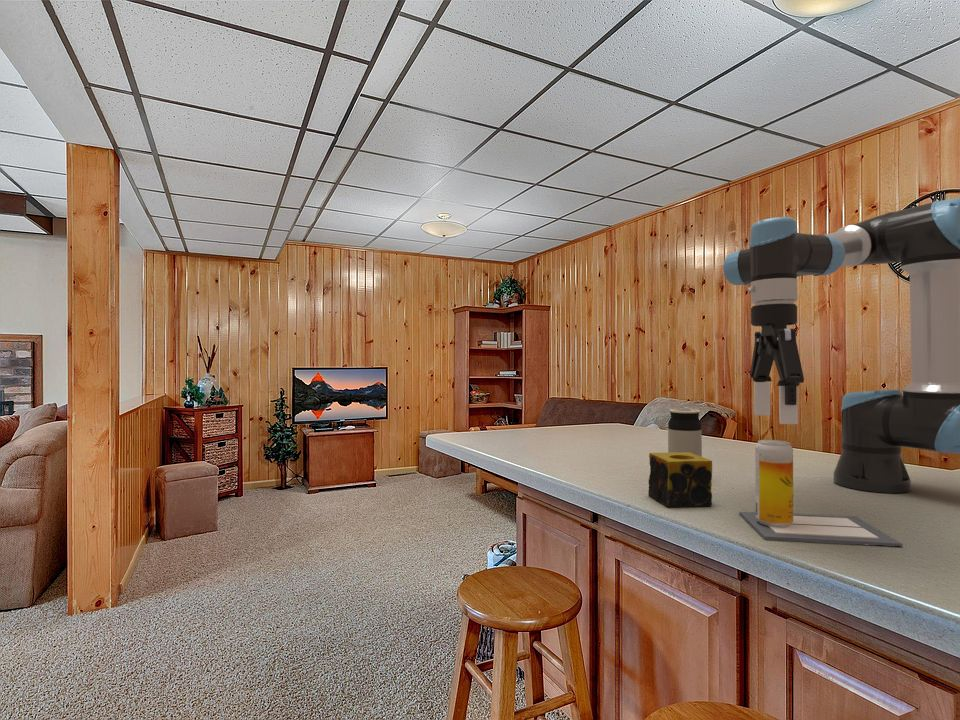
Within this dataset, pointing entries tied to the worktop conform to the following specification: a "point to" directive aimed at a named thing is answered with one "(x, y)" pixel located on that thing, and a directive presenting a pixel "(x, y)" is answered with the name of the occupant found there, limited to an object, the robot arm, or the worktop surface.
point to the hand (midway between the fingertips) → (774, 419)
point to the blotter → (822, 530)
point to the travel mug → (685, 431)
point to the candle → (680, 479)
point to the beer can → (774, 483)
